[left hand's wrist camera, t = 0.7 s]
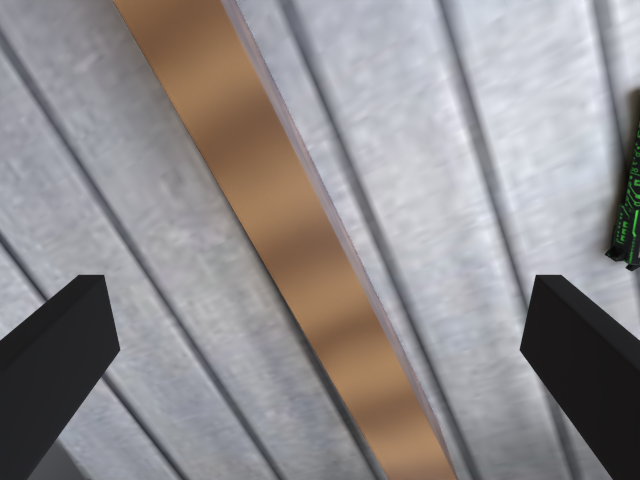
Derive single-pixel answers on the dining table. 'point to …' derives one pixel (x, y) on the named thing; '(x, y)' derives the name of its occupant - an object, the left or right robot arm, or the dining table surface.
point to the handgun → (629, 218)
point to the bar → (290, 220)
